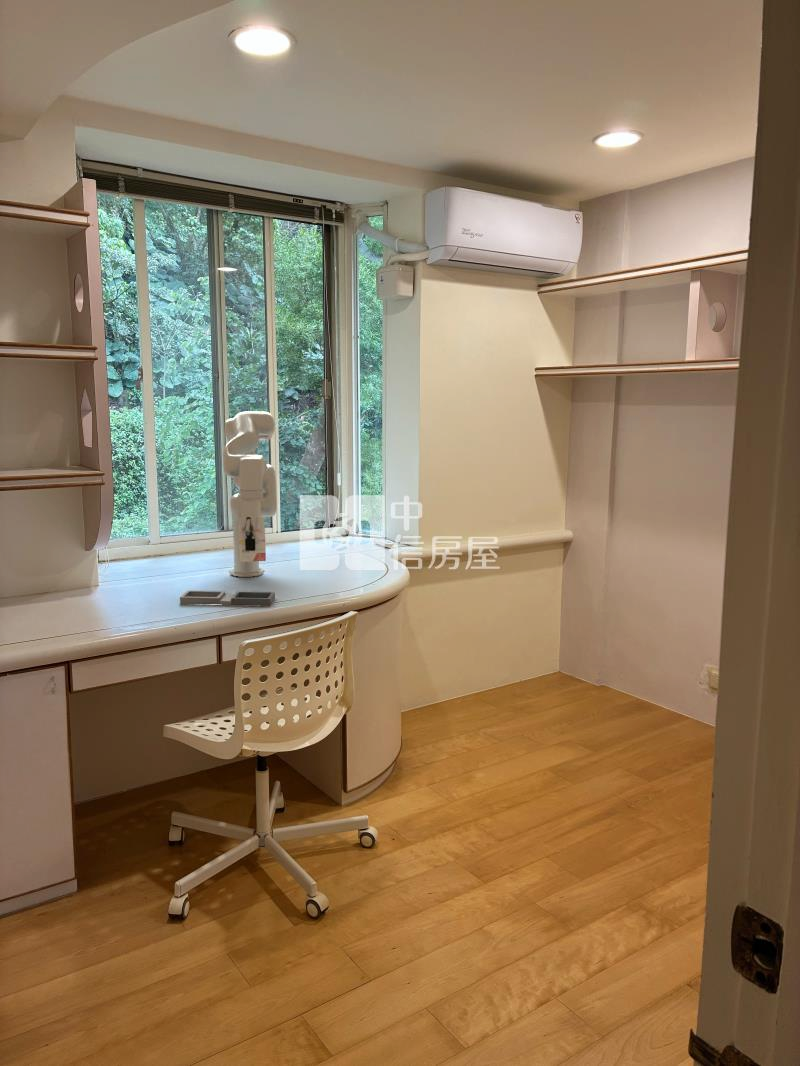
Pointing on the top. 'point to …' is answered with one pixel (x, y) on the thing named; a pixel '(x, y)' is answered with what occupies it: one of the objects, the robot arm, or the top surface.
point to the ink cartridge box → (259, 543)
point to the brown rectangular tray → (201, 597)
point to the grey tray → (248, 598)
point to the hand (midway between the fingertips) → (252, 548)
